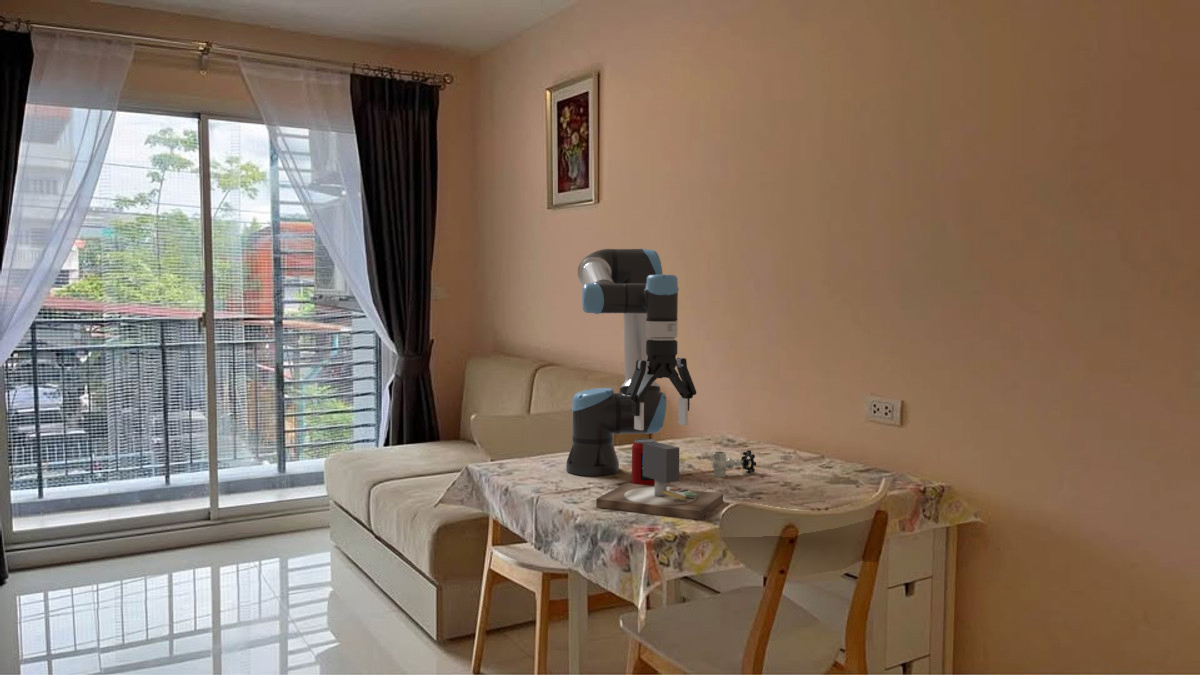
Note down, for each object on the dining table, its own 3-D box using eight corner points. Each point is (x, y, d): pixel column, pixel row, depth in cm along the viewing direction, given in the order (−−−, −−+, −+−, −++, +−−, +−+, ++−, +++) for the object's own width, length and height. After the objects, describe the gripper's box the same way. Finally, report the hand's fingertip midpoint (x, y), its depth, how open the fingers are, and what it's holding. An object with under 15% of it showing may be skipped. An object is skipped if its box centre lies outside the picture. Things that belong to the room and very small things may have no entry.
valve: (718, 479, 235) (756, 475, 240) (719, 455, 235) (756, 452, 239) (707, 474, 241) (744, 470, 246) (707, 451, 241) (744, 448, 245)
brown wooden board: (596, 506, 205) (596, 496, 204) (625, 490, 221) (625, 481, 221) (700, 519, 194) (700, 508, 194) (723, 501, 210) (723, 491, 210)
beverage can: (649, 489, 223) (649, 443, 222) (627, 485, 226) (627, 441, 225) (661, 484, 228) (662, 439, 228) (639, 481, 232) (639, 437, 231)
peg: (642, 491, 210) (642, 443, 209) (655, 489, 212) (655, 441, 211) (677, 503, 199) (677, 452, 198) (690, 500, 201) (690, 450, 201)
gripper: (629, 341, 195) (629, 433, 196) (711, 338, 209) (710, 424, 210) (610, 339, 201) (610, 429, 202) (690, 337, 215) (690, 420, 216)
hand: (661, 427), depth 206 cm, fingers open, 13 cm apart
